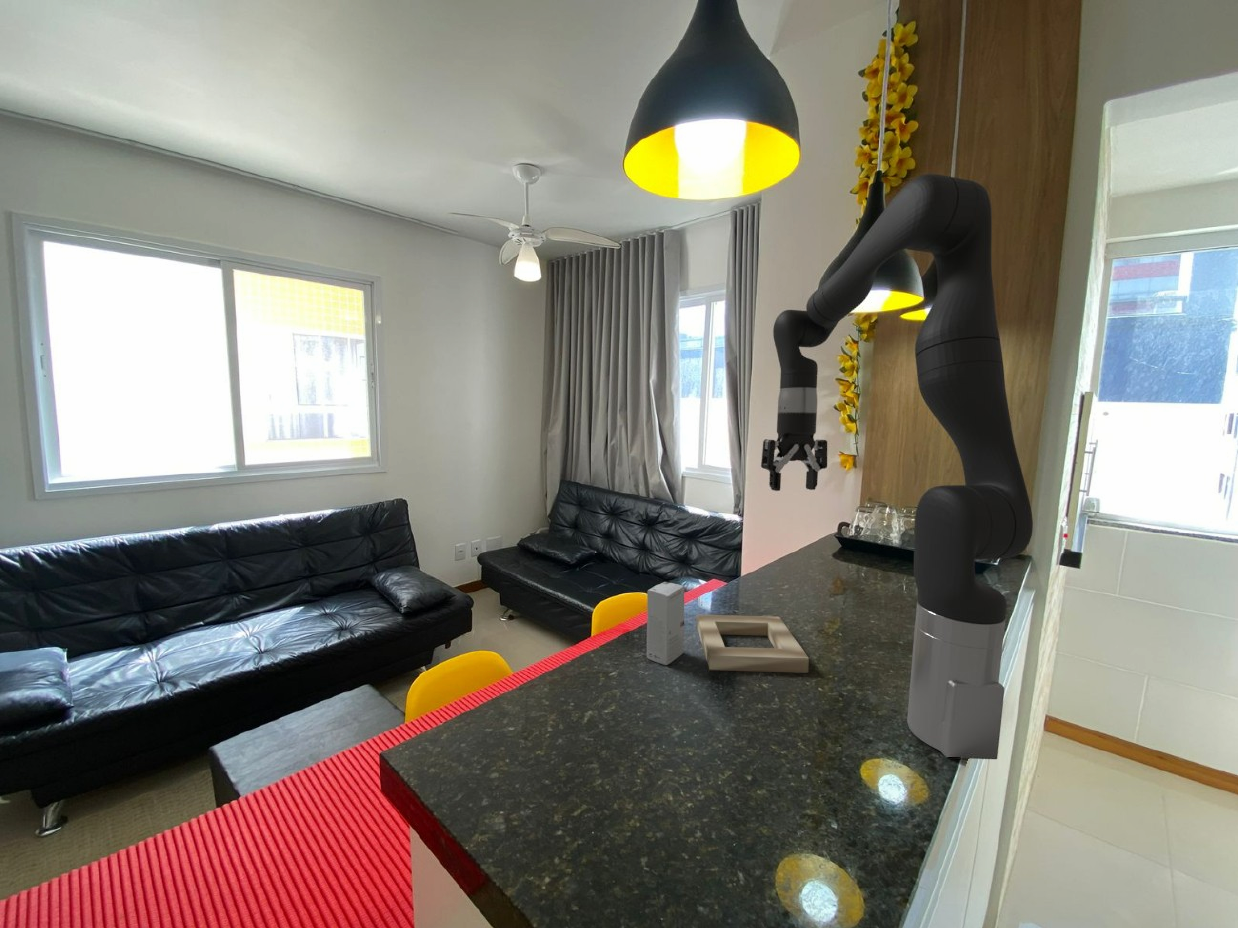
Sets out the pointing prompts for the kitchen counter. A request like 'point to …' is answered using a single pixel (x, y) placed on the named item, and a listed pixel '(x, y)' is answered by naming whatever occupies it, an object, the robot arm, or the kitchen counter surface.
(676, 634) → the skincare box
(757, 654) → the socket block
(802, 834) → the kitchen counter surface
